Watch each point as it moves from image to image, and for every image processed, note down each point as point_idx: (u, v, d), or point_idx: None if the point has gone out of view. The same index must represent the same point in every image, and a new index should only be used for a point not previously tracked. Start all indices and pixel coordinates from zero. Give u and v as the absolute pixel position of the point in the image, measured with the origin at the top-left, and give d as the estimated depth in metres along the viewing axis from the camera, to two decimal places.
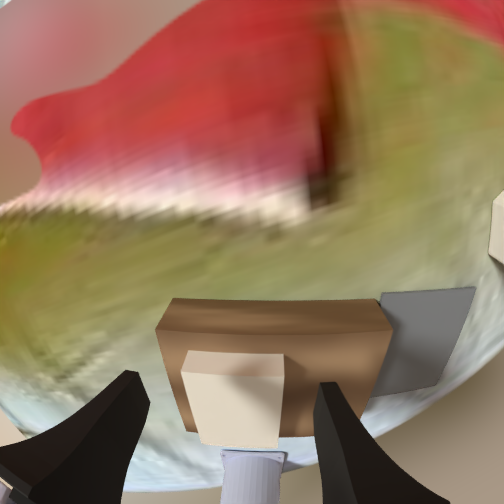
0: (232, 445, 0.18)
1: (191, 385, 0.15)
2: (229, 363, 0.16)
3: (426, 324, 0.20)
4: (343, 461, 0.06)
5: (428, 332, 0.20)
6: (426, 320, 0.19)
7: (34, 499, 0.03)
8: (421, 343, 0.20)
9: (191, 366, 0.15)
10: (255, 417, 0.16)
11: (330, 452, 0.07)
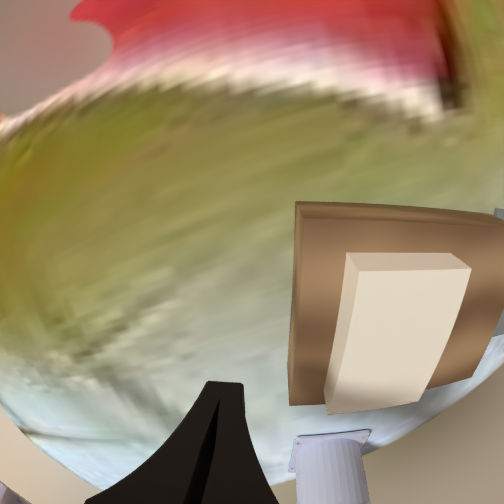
0: (367, 409, 0.13)
1: (366, 297, 0.10)
2: (409, 260, 0.11)
3: None
4: None
5: None
6: None
7: None
8: None
9: (368, 265, 0.11)
10: (422, 348, 0.11)
11: None
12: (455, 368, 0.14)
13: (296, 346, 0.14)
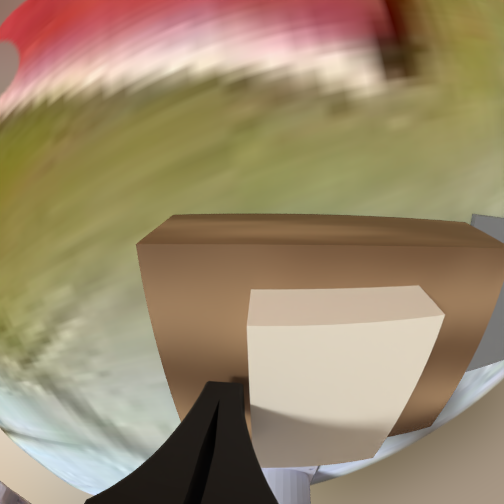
0: (304, 465, 0.10)
1: (265, 358, 0.07)
2: (342, 304, 0.08)
3: None
4: None
5: None
6: None
7: None
8: None
9: (268, 315, 0.08)
10: (367, 412, 0.08)
11: None
12: (403, 420, 0.12)
13: (170, 386, 0.11)
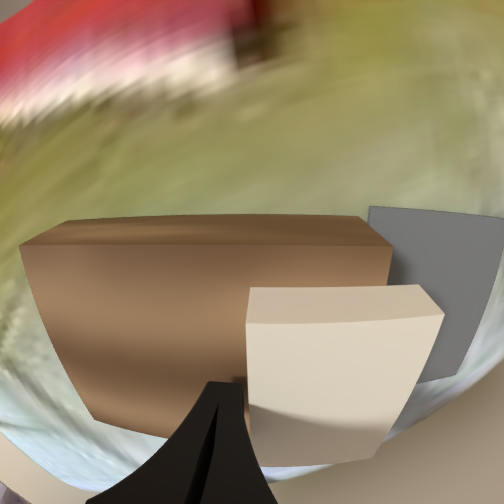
0: (303, 464, 0.10)
1: (264, 356, 0.07)
2: (342, 302, 0.08)
3: (445, 272, 0.12)
4: None
5: (448, 287, 0.13)
6: (444, 264, 0.12)
7: None
8: (439, 305, 0.13)
9: (266, 312, 0.08)
10: (366, 411, 0.08)
11: None
12: None
13: (62, 363, 0.12)
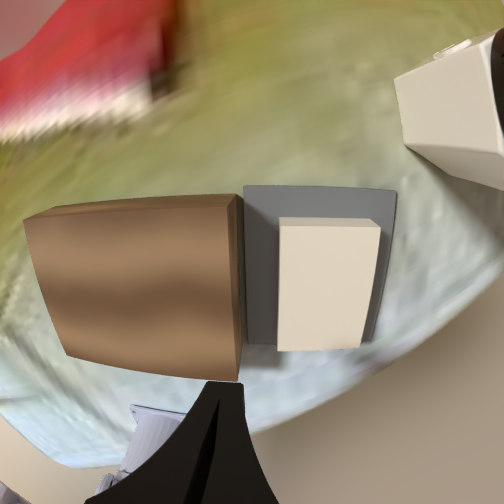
0: None
1: None
2: (333, 222, 0.16)
3: None
4: None
5: None
6: None
7: None
8: None
9: (364, 220, 0.17)
10: None
11: None
12: (195, 362, 0.17)
13: (46, 304, 0.17)
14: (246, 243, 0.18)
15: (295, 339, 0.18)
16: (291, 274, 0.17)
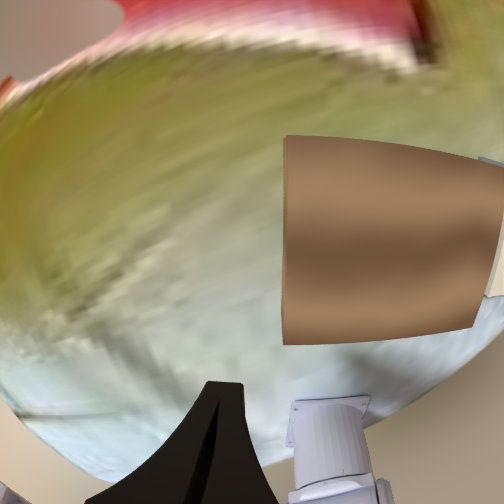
0: None
1: None
2: None
3: None
4: None
5: None
6: None
7: None
8: None
9: None
10: None
11: None
12: (454, 312, 0.15)
13: (287, 268, 0.15)
14: None
15: (499, 284, 0.16)
16: None
